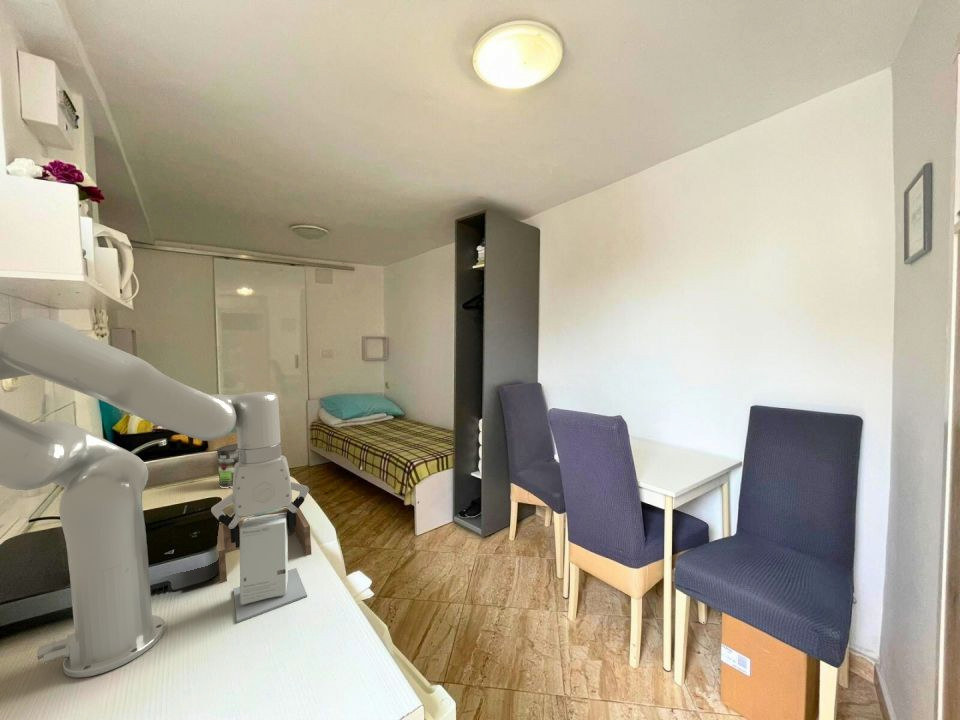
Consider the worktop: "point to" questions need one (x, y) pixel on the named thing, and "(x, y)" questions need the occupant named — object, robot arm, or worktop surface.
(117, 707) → the worktop surface
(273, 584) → the skincare box
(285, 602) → the pad
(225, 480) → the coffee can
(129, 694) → the worktop surface
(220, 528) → the wooden open bay
